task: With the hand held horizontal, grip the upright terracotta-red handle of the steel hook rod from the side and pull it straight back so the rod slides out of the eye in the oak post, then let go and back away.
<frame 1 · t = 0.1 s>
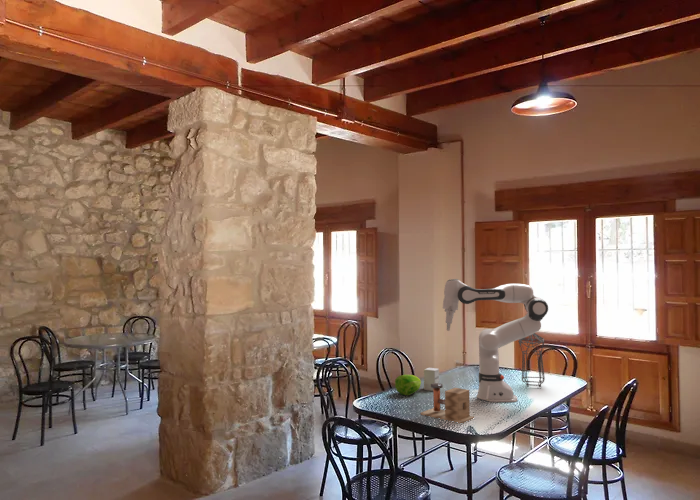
hand: (448, 329, 301), 39 cm above the table, tool pointing down, fingers open, 8 cm apart
geometric lantern: (532, 387, 323), on the table
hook: (446, 399, 258), point 9 cm above the table, slide at 0.0 cm
supplement box: (431, 389, 316), on the table
eye post: (457, 418, 254), on the table
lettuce: (410, 394, 305), on the table
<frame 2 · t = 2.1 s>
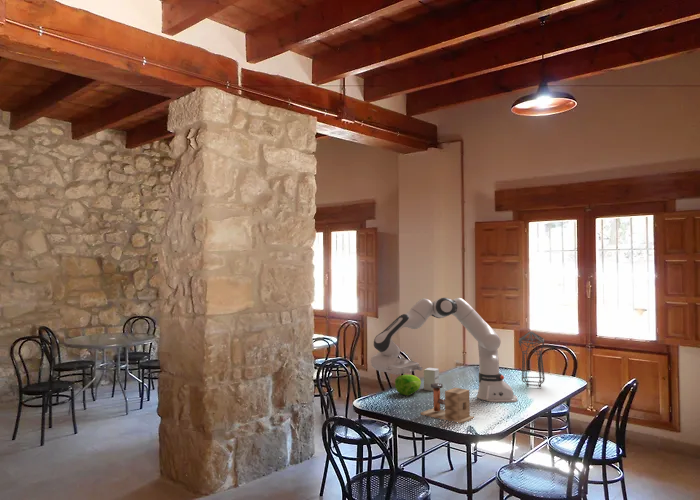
hand: (416, 370, 271), 21 cm above the table, tool horizontal, fingers open, 8 cm apart
nothing on the table moved.
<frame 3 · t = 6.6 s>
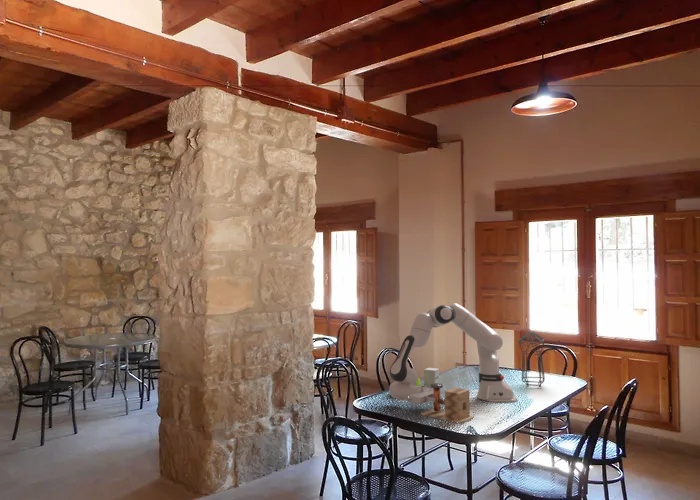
hand: (438, 398, 262), 8 cm above the table, tool horizontal, fingers closed on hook, 3 cm apart
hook: (446, 399, 258), point 9 cm above the table, slide at 0.0 cm, touching gripper
everything else where it was.
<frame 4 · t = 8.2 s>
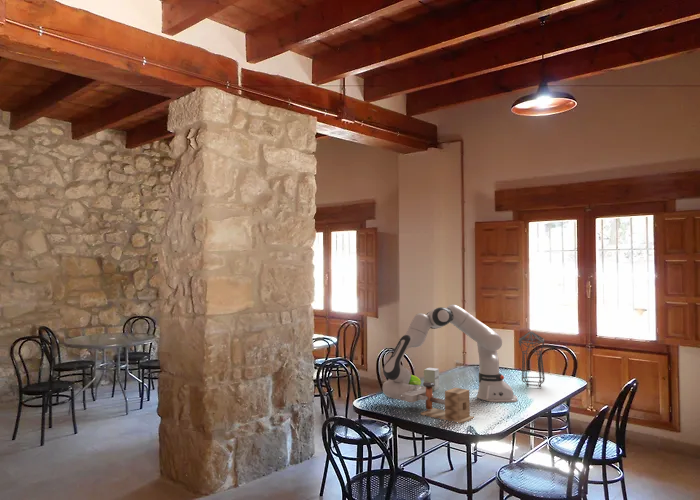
hand: (430, 397, 265), 8 cm above the table, tool horizontal, fingers closed on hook, 3 cm apart
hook: (438, 397, 262), point 9 cm above the table, slide at 4.7 cm, touching gripper
everything else where it was.
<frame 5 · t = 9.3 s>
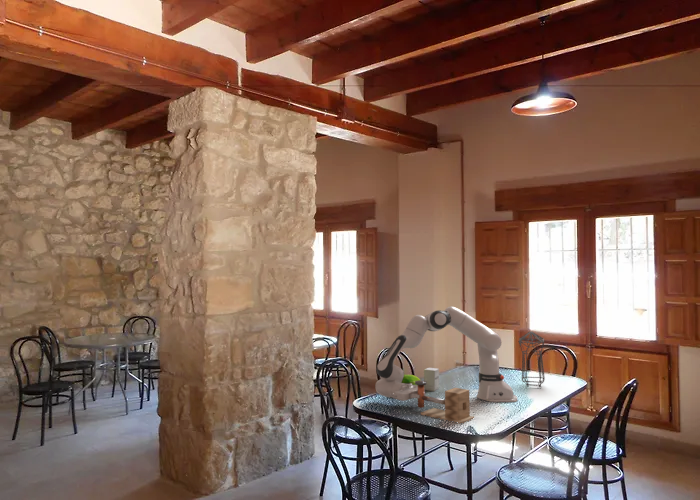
hand: (422, 395, 268), 8 cm above the table, tool horizontal, fingers closed on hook, 3 cm apart
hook: (430, 396, 265), point 9 cm above the table, slide at 9.8 cm, touching gripper
everything else where it was.
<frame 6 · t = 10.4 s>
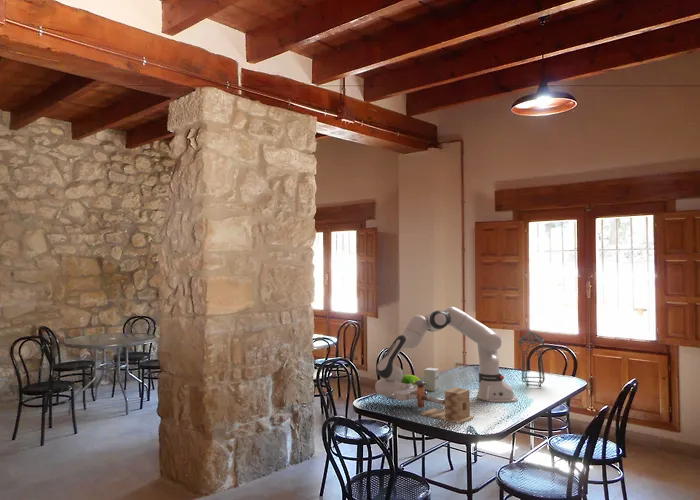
hand: (422, 395, 269), 8 cm above the table, tool horizontal, fingers open, 8 cm apart
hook: (430, 396, 265), point 9 cm above the table, slide at 10.0 cm
everything else where it was.
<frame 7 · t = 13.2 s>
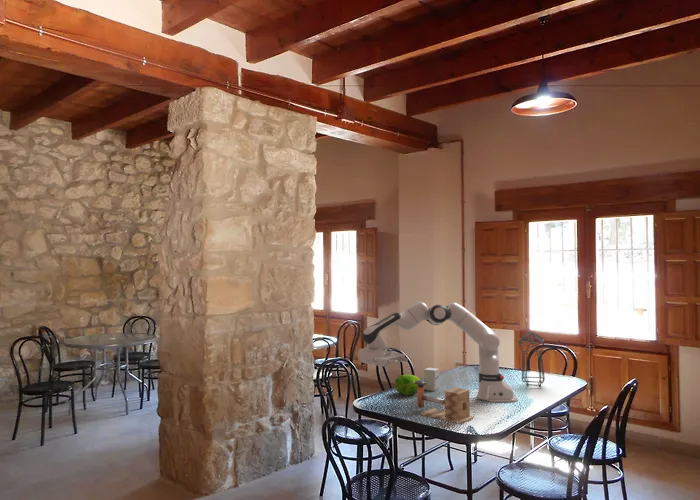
hand: (401, 361, 278), 25 cm above the table, tool horizontal, fingers open, 8 cm apart
nothing on the table moved.
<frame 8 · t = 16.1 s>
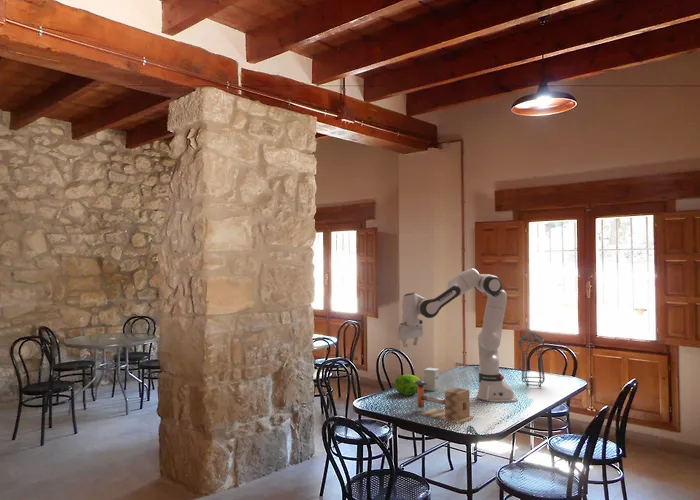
hand: (410, 346, 288), 31 cm above the table, tool pointing down, fingers open, 8 cm apart
nothing on the table moved.
at the end: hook slide at 10.0 cm; the gripper is holding nothing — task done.
